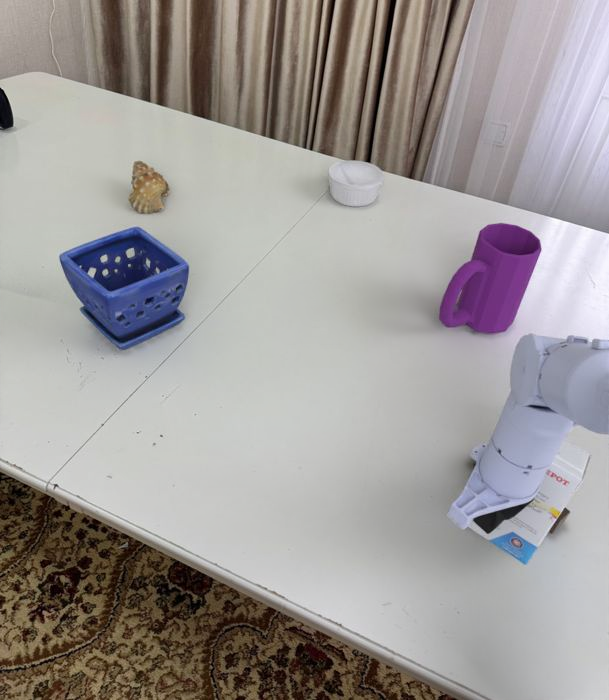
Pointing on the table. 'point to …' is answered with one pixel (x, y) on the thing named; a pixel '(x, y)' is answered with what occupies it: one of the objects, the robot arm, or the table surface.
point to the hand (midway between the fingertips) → (482, 525)
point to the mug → (492, 280)
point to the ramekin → (355, 182)
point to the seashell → (147, 189)
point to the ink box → (541, 505)
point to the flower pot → (128, 285)
